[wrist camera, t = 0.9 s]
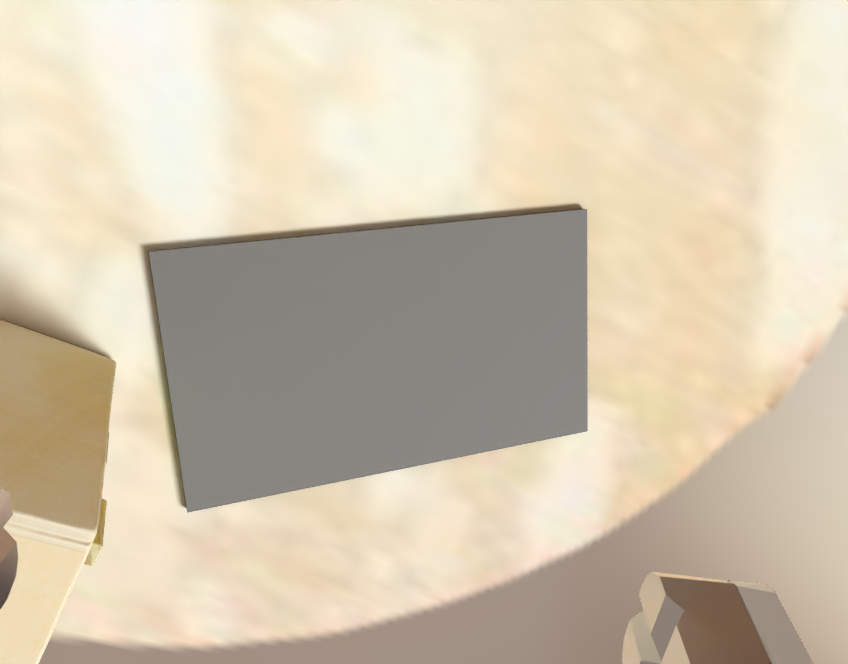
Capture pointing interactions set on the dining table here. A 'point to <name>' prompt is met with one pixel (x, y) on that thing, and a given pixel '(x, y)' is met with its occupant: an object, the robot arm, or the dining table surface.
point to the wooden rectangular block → (50, 477)
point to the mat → (371, 350)
